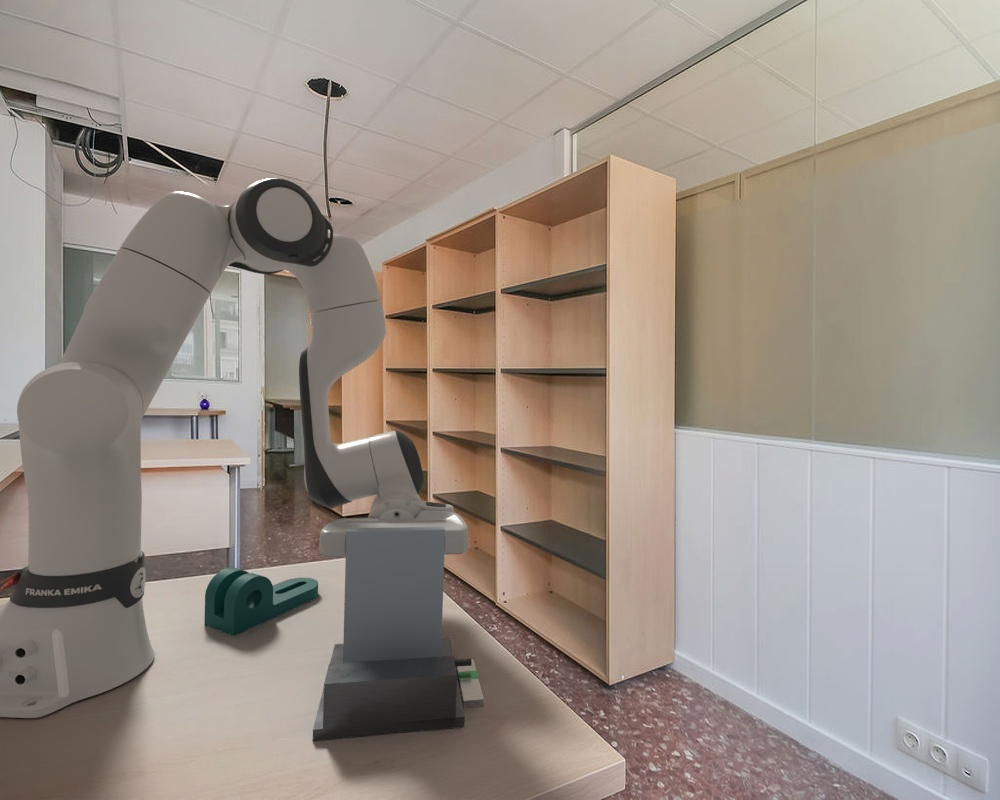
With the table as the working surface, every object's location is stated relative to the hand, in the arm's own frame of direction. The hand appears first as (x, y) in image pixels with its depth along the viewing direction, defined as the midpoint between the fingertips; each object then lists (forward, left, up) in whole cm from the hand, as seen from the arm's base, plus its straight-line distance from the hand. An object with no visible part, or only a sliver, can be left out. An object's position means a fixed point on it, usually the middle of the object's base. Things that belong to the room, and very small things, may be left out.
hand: (395, 555), depth 66 cm
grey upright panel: (+2, -1, -14) cm, 15 cm away
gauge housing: (+1, -2, -16) cm, 16 cm away
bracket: (-20, +23, -16) cm, 35 cm away
